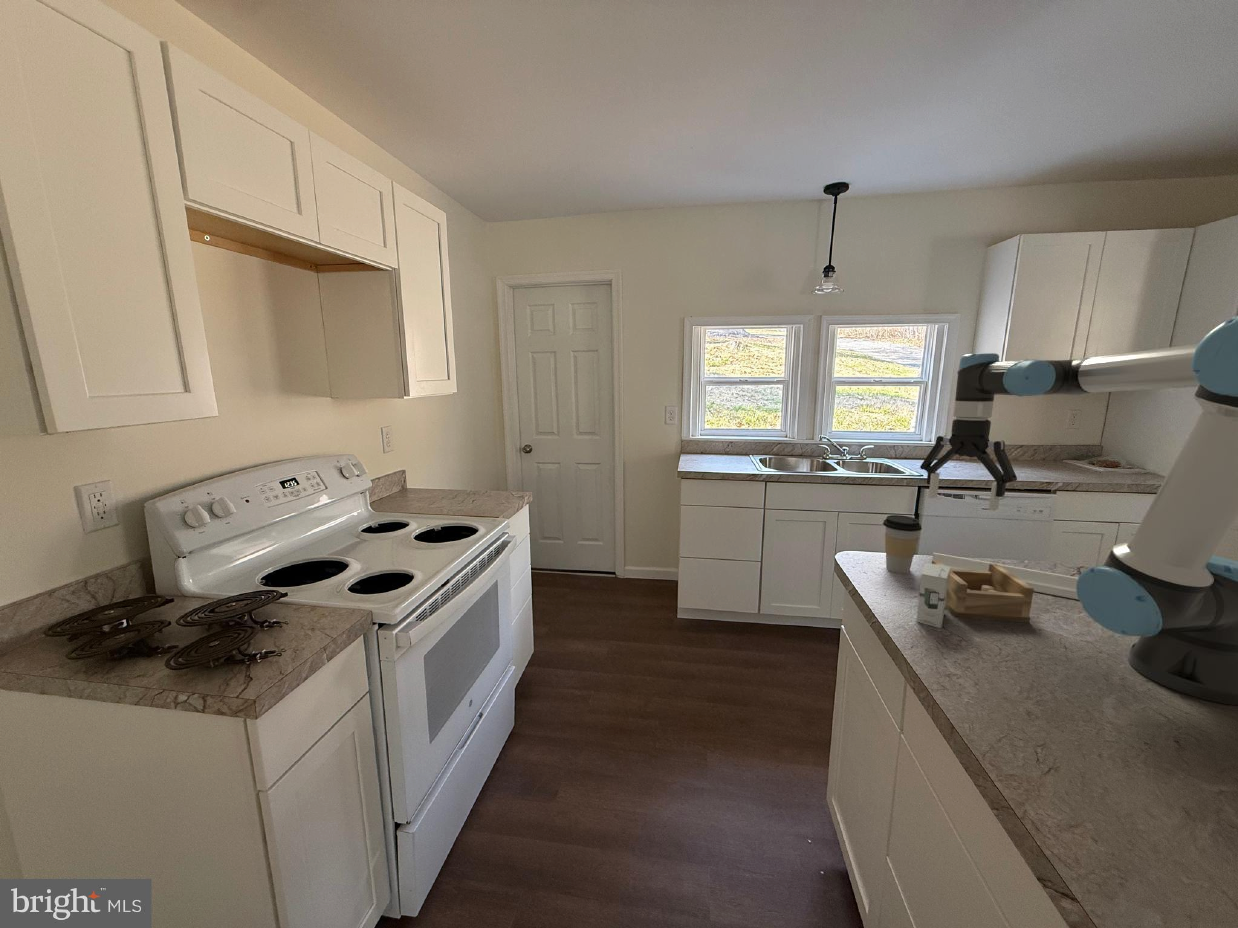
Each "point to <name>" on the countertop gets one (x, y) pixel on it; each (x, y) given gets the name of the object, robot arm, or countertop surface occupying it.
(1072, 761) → the countertop surface
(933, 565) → the ink box
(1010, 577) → the open wooden box
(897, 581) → the countertop surface
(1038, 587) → the crown molding
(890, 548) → the coffee cup
